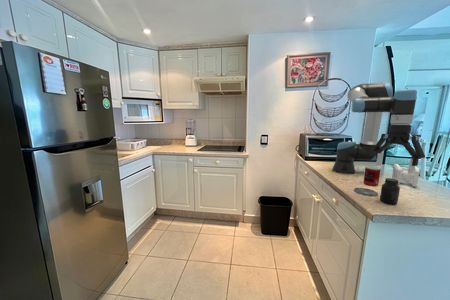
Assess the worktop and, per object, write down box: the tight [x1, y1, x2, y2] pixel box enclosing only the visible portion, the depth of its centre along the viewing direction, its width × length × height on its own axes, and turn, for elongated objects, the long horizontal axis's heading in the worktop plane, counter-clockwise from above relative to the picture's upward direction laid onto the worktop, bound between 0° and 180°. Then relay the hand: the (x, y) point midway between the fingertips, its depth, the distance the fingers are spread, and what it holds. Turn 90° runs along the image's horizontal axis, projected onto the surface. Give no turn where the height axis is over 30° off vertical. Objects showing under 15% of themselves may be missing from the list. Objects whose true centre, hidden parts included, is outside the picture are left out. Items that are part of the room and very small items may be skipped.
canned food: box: [363, 165, 382, 187], centre depth 119 cm, size 8×8×11 cm
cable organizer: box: [391, 163, 421, 188], centre depth 120 cm, size 15×11×12 cm
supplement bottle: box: [379, 177, 401, 206], centre depth 93 cm, size 7×7×12 cm
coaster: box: [353, 187, 379, 197], centre depth 107 cm, size 11×11×1 cm
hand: (393, 168), depth 91 cm, fingers open, 13 cm apart
